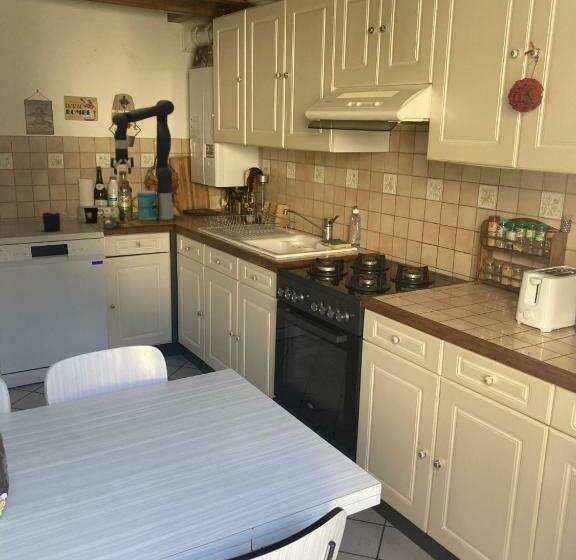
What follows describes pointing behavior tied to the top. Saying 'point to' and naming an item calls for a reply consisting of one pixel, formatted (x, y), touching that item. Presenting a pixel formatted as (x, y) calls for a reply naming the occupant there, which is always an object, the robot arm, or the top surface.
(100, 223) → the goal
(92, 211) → the coffee mug
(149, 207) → the food can
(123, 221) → the striker
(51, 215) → the pen holder
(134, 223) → the rail
